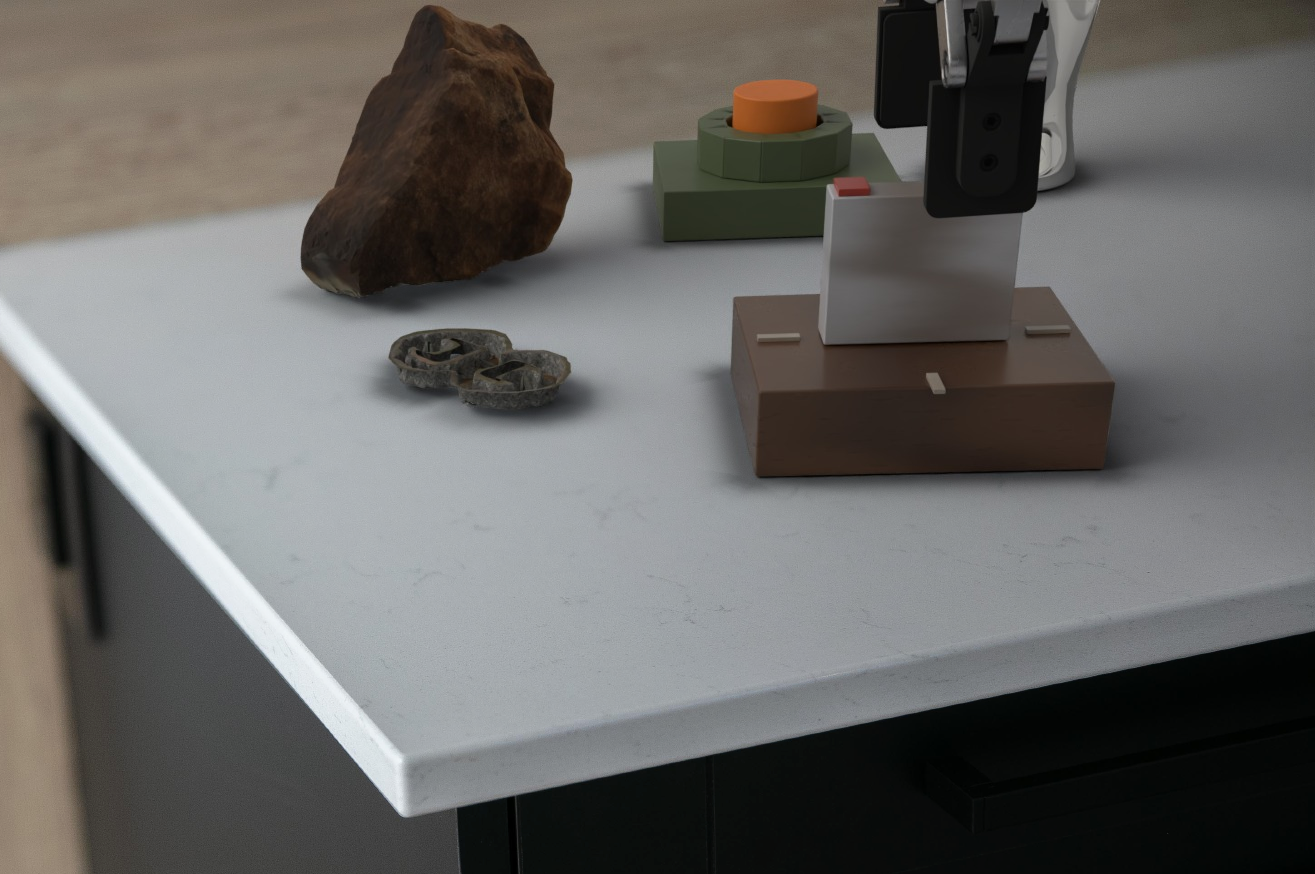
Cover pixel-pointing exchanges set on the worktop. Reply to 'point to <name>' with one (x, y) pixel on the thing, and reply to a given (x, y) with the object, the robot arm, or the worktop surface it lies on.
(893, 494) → the worktop surface
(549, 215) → the decorative rock
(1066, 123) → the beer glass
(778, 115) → the button
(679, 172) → the button box
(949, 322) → the tap handle
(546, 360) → the corroded twin loop
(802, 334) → the block
